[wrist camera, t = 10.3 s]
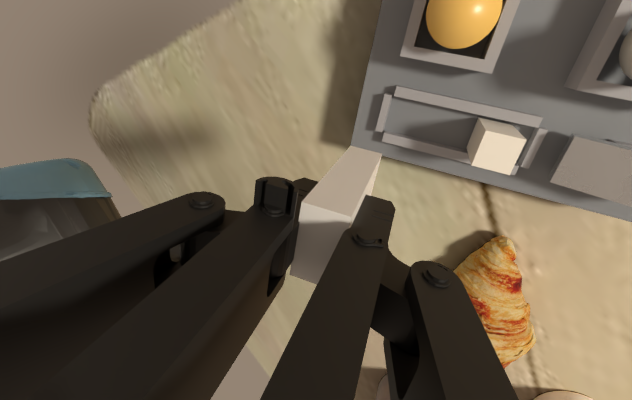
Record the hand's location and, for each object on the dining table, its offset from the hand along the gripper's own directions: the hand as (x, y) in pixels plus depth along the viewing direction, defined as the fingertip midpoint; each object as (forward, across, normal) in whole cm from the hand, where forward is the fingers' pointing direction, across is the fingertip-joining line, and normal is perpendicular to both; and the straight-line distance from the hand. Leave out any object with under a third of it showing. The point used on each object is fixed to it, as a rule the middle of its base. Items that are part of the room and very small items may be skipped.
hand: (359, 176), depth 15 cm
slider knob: (+15, -8, 0) cm, 17 cm away
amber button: (+15, -3, -8) cm, 17 cm away
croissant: (+20, -16, +20) cm, 32 cm away
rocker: (+13, -17, 0) cm, 21 cm away
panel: (+20, -9, -4) cm, 22 cm away
